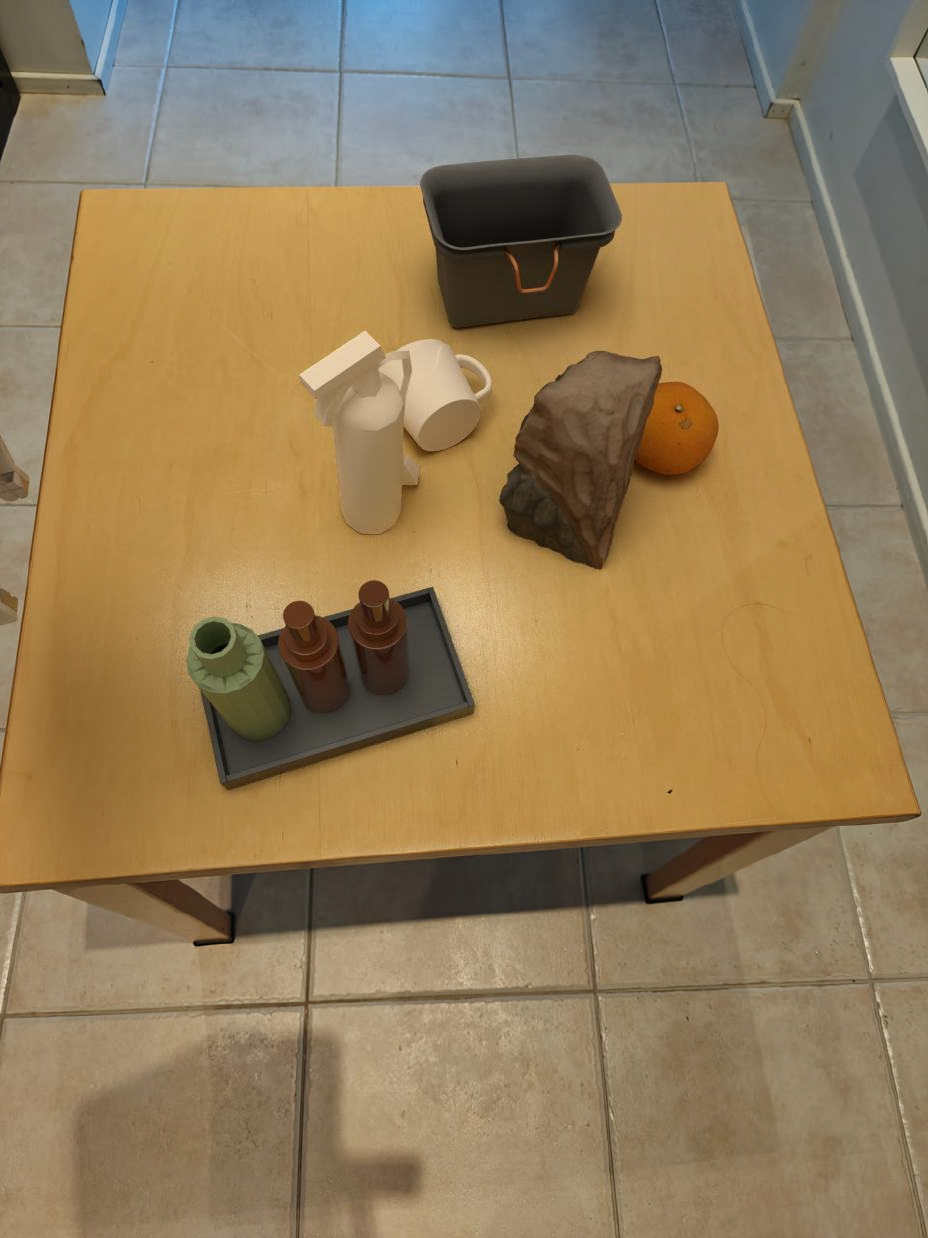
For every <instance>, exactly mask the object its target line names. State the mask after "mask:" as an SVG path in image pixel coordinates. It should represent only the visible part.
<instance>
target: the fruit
mask: <svg viewBox="0 0 928 1238" xmlns="http://www.w3.org/2000/svg"><path fill="white" fill-rule="evenodd" d="M719 424H720V423H719V418H718V415H717V413H716V411H715V409H714V408H713V407H712V405H711V404H710V402H709V401H708V400H707V397H705V396H704V395H703V394H702V393H701V392H700V391H698V390H697V389H696V388H695V387H694V386H692V385H690V384H688V383H686V382H682V381H666V382H659V383H658V387H657V389H656V392H655V395H654V404H653V407H652V410H651V412H650V414H649V416H648V418H647V421H646V426H645V430H644V433H643V436H642V439H641V442H640V445H639V447H638V450H637V453H636V457H635V460H634V461H636V462H637V464H639V465H641V466H642V467H644V468H646V469H648V470H650V471H652V472H654V473H658V474H662V475H672V476H674V475H681V474H684V473H688V472H689V471H692V470H693V469H694V468H696V467H697V466H698V465H701V463H702V462H703V461H705V460H706V459H707V458H708V457H709V455H710V454H711V452H712V451H713V448H714V446H715V444H716V441H717V438H718V434H719Z"/></svg>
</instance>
